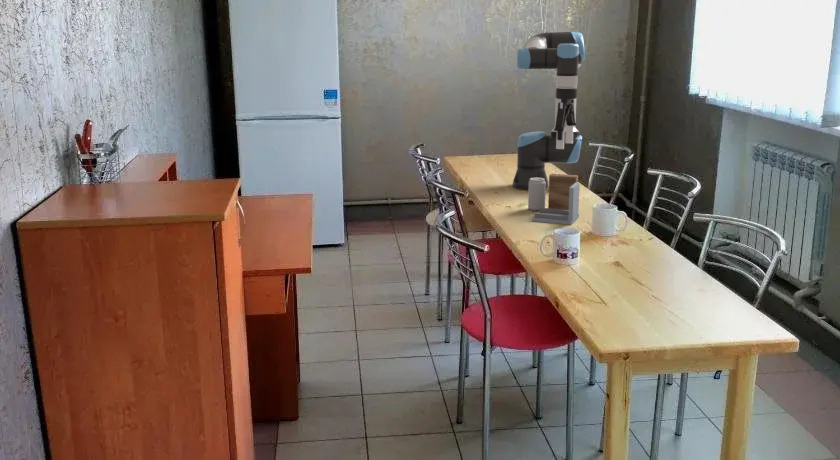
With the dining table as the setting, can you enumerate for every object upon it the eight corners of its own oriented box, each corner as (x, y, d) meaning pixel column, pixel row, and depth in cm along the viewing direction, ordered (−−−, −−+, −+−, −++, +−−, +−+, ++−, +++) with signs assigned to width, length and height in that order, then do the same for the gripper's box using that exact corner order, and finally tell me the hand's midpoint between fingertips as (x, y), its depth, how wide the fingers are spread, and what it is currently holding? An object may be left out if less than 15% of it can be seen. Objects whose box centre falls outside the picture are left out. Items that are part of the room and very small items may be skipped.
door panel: (550, 209, 300) (551, 173, 297) (576, 212, 296) (578, 175, 293) (548, 211, 297) (549, 175, 294) (574, 214, 293) (575, 177, 290)
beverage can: (544, 211, 297) (545, 180, 294) (527, 211, 299) (528, 180, 295) (545, 207, 303) (546, 177, 300) (528, 207, 305) (529, 176, 301)
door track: (541, 213, 295) (542, 179, 292) (579, 216, 289) (580, 182, 286) (532, 221, 284) (533, 185, 281) (571, 224, 279) (572, 188, 275)
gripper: (564, 84, 297) (562, 140, 302) (547, 90, 275) (545, 150, 280) (584, 84, 294) (582, 141, 299) (568, 90, 272) (566, 151, 277)
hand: (564, 146), depth 290 cm, fingers open, 13 cm apart
